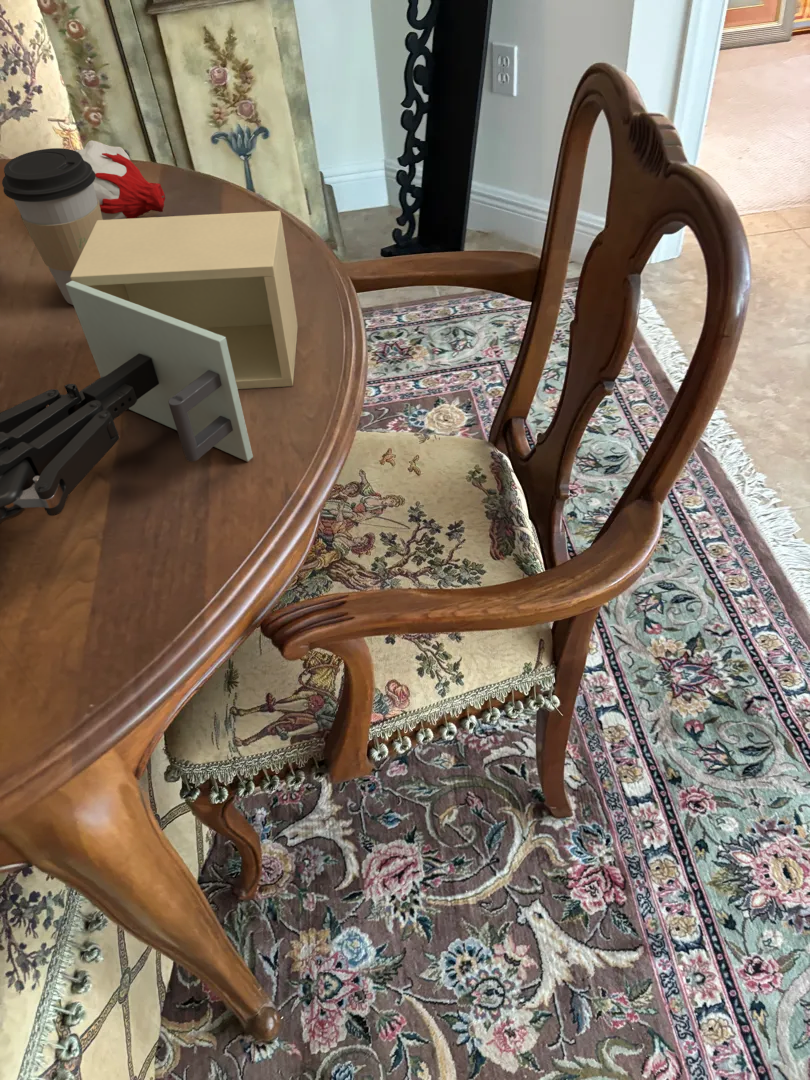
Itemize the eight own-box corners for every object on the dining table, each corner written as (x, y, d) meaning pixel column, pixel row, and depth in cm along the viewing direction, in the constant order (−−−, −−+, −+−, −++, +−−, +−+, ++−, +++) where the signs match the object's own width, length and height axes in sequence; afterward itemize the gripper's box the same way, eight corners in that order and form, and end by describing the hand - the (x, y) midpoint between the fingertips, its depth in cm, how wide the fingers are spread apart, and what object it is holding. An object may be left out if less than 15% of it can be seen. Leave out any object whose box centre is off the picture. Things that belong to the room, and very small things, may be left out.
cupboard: (293, 386, 79) (273, 265, 69) (114, 396, 79) (69, 276, 69) (297, 326, 86) (280, 210, 77) (134, 335, 86) (96, 219, 77)
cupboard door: (209, 495, 68) (173, 374, 59) (69, 429, 75) (17, 311, 66) (253, 457, 72) (225, 336, 62) (115, 396, 78) (71, 279, 69)
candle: (84, 195, 110) (187, 213, 109) (46, 232, 102) (156, 252, 102) (70, 127, 103) (180, 146, 102) (28, 161, 96) (146, 182, 95)
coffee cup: (127, 309, 90) (84, 176, 79) (43, 319, 89) (-13, 186, 78) (133, 269, 96) (93, 141, 85) (54, 278, 95) (4, 149, 84)
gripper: (-114, 536, 61) (110, 382, 75) (-7, 602, 56) (213, 424, 70) (-168, 464, 56) (84, 312, 69) (-56, 529, 51) (193, 352, 64)
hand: (149, 368), depth 70 cm, fingers closed
